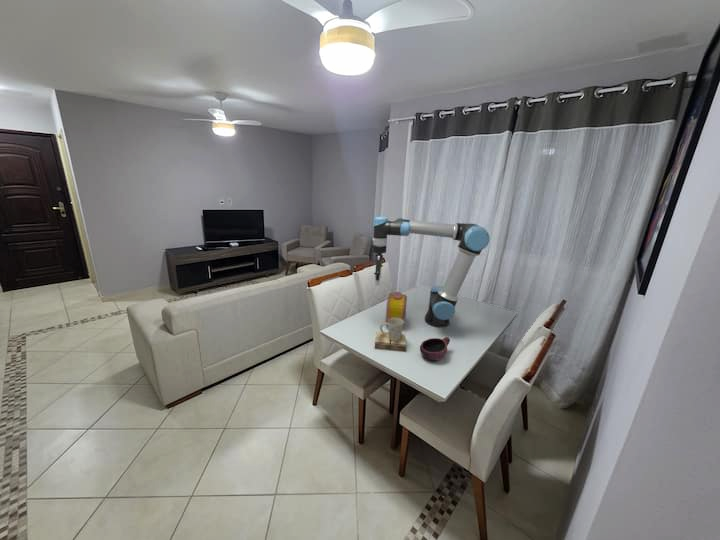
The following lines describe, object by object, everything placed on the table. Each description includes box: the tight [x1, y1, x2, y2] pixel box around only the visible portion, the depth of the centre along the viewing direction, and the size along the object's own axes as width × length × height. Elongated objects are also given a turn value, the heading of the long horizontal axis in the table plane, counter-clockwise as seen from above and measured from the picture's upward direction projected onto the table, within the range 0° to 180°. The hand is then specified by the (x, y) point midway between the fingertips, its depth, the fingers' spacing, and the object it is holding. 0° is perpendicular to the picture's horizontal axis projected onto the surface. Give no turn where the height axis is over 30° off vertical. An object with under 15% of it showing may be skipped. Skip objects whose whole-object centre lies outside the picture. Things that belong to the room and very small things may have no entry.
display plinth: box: [374, 331, 407, 353], centre depth 144 cm, size 16×11×4 cm
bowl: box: [419, 336, 451, 361], centre depth 136 cm, size 16×13×8 cm
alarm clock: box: [385, 291, 408, 328], centre depth 165 cm, size 18×11×19 cm, turn 168°
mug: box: [379, 318, 405, 341], centre depth 143 cm, size 8×13×10 cm, turn 78°
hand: (377, 281), depth 155 cm, fingers open, 13 cm apart
